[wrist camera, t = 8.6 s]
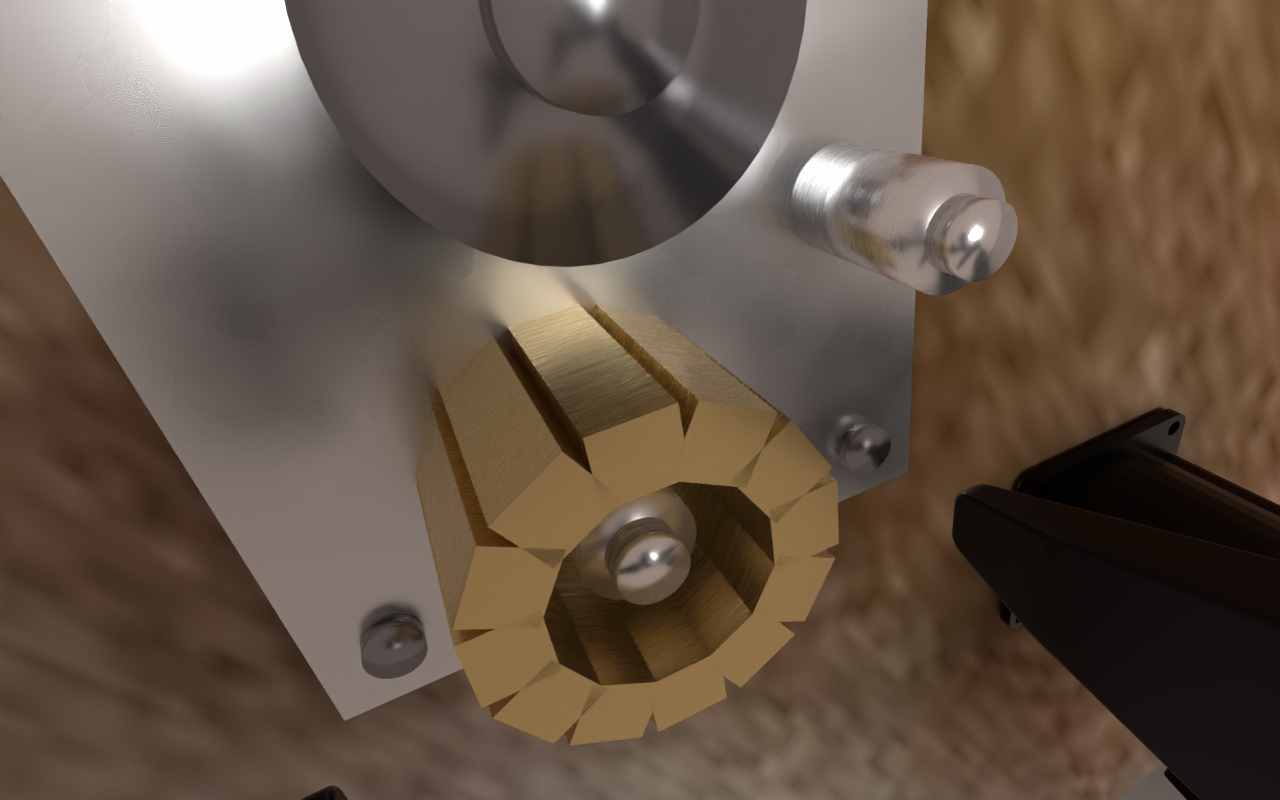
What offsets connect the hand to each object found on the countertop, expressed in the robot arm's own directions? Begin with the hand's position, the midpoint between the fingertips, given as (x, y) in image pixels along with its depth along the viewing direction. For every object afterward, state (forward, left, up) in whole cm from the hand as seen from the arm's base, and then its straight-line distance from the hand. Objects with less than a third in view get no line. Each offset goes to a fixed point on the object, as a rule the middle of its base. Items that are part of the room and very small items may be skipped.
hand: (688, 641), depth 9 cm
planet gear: (0, 0, -5) cm, 5 cm away
